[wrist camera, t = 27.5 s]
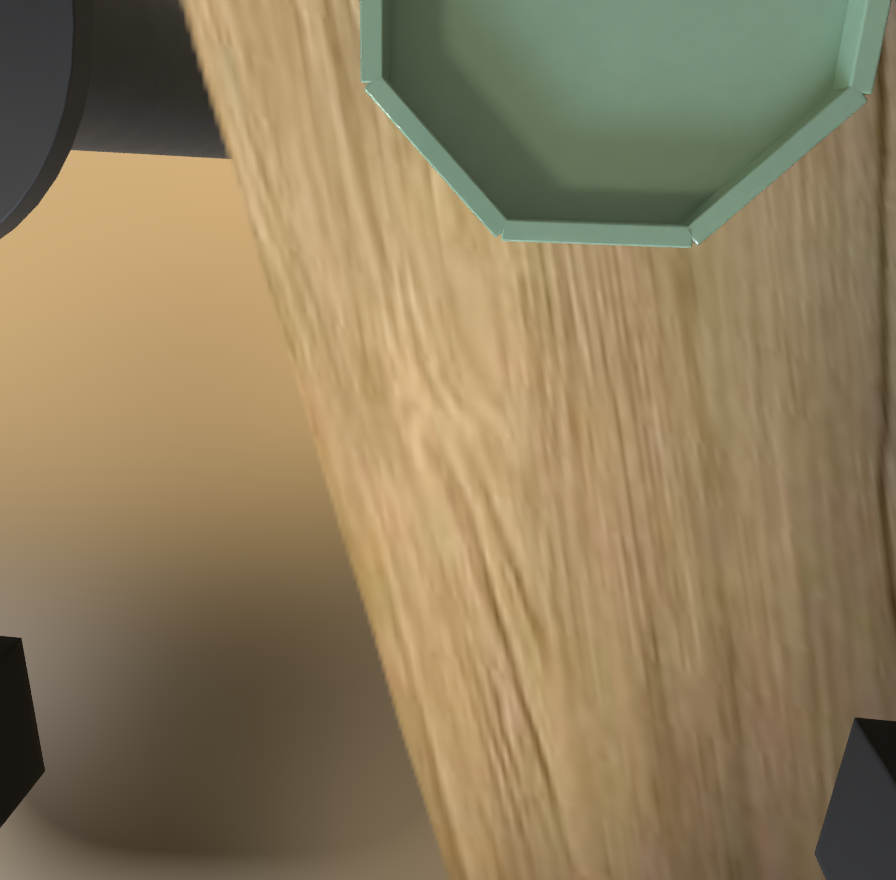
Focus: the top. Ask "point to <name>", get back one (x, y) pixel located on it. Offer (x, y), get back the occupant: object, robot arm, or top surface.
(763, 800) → the top surface
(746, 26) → the green pedestal stand
